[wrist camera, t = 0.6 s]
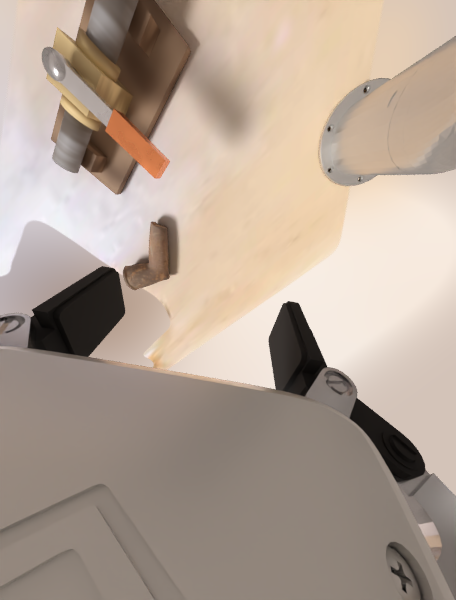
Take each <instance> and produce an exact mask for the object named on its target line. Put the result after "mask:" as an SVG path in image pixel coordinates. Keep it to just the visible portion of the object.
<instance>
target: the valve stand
mask: <svg viewBox="0 0 456 600" xmlns="http://www.w3.org/2000/svg"><path fill="white" fill-rule="evenodd" d="M53 49H55V50H56V51H58V52H59V53H61V54H62V55H64V56H65V57H66V58H67V59H68V60H69V62H70V64H71V65H72V68H73V69H74V70H75V71H76V72H77V73H78V74H79V75H80V76H81V77H82V78H83V79H84V80H85V81H86V82H87V83H88V84H89V85H90V86H91V87H92V88H93V89H94V90H95V91H96V92H97V93H98V94H99V95H100V96H101V97H102V98H103V99H104V100H105V101H106V102H107V103H108V104H109V105H110V106H111V107H112V108H113V109H116V110H118V111H120V112H122V113H123V114H124V115H125V116H126V117H127V118H128V119H129V120H130V121H131V122H132V123H133V124H134V125H135V126H136V127H137V128H138V129H139V130H140V131H141V132H142V133H143V134H144V135H145V136H146V137H147V138H148V137H149V135H150V133H151V131H152V129H153V127H154V125H155V123H156V121H157V119H158V117H159V115H160V113H161V111H162V109H163V107H164V105H165V103H166V101H167V99H168V97H169V95H170V93H171V91H172V89H173V87H174V85H175V83H176V81H177V79H178V77H179V75H180V73H181V71H182V69H183V67H184V65H185V63H186V61H187V59H188V57H189V55H190V53H191V50H190V48H189V46H188V44H187V43H186V42H185V40H184V39H183V38H182V36H181V35H180V34H179V32H178V31H177V30H176V28H175V27H174V26H173V25H172V23H171V22H170V21H169V19H168V18H167V17H166V15H165V14H164V13H163V11H162V10H161V9H160V7H159V6H158V5H157V3H156V2H155V1H154V0H86V3H85V7H84V11H83V15H82V19H81V23H80V27H79V30H78V34H77V38H76V42H75V41H74V40H73V39H72V38H70V37H69V36H68V35H66V34H65V33H64V32H63V31H61V30H60V29H59V28H58V27H57V31H56V35H55V40H54V45H53ZM46 79H47V80H48V81H49V82H50V83H52V84H53V85H54V86H55V87H56V88H57V89H58V90H59V91H60V92H61V93H62V97H61V101H60V106H59V110H58V113H57V117H56V121H55V125H54V129H53V133H52V137H51V140H52V141H53V142H55V143H56V146H55V149H54V153H53V157H52V159H53V160H54V162H55V163H56V164H58V165H59V166H60V167H62V168H64V169H65V170H67V171H70V172H73V173H78V171H79V168H80V165H82V166H83V167H84V168H85V169H86V170H88V171H89V172H90V173H91V174H92V175H94V176H95V177H96V178H97V179H98V180H99V181H101V182H102V183H103V184H104V185H105V186H106V187H108V188H109V189H110V190H111V191H112V192H114V193H115V194H121V192H122V190H123V188H124V186H125V184H126V182H127V180H128V178H129V175H130V173H131V171H132V169H133V167H134V165H135V163H136V160H135V159H134V158H133V157H132V156H131V155H130V154H129V153H128V152H127V151H126V150H125V149H124V148H123V147H121V146H120V145H119V144H118V143H117V142H116V141H115V140H114V139H113V138H112V137H111V136H110V135H109V134H108V133H107V132H106V131H105V130H106V126H105V125H104V124H103V123H102V122H101V121H100V120H99V119H98V118H97V117H96V116H95V115H94V114H93V113H92V112H91V111H90V110H89V109H87V108H86V107H85V106H84V105H83V104H82V103H81V102H80V101H79V100H78V99H77V98H76V97H75V96H74V95H73V94H72V93H71V92H70V91H69V90H68V89H67V88H66V87H65V86H64V85H63V84H62V83H60V82H58V81H56V80H54V79H53V78H51V77H50V75H49V74H48V73H47V78H46Z"/></svg>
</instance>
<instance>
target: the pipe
mask: <svg viewBox="0 0 456 600" xmlns="http://www.w3.org/2000/svg"><path fill="white" fill-rule="evenodd" d="M123 277H124V280H125V282H126V284H127V286H128V287H130V288H131V289H133V290H137V289H139V288H143V287H146V286H149V285H152V284H154V283H157V282H159V281H162V280H167V279H169V277H170V276H169V272H168V230H167V228H166V227H165V226H161V225H158V224H157V223H156V222H151V226H150V238H149V263H141V264H135V265H132V266H125V267H124V270H123Z"/></svg>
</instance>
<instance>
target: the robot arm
mask: <svg viewBox="0 0 456 600" xmlns="http://www.w3.org/2000/svg"><path fill="white" fill-rule="evenodd" d="M364 89H365V93H364V91H363V90H364ZM328 127H329V128H330V131H328V130H327V129H328ZM319 162H320V165H321V169H322V171H323V172H324V174H325V176H326V177H327V178H328V179H329V180H330V181H332V182H334V183H335V184H339V185H343V186H354V185H359V184H362V183H364V182H366V181H369V180H371V179H372V178H374V177H375V176H377V175H412V174H413V175H415V174H437V173H443V172H446V171H450V170H454V169H456V36H455V37H453V38H452V39H451V40H449V41H447V42H446V43H445V44H443V45H442V46H440V47H439V48H437V49H436V50H434V51H433V52H431V53H430V54H428V55H427V56H425V57H424V58H422V59H421V60H419V61H418V62H416V63H415V64H413V65H412V66H410V67H409V68H407V69H406V70H404V71H403V72H401V73H400V74H398V75H397V76H395V77H394V78H392V79H388V78H387V79H385V78H379V79H374V80H370V81H368V82H365V83H363V84H361V85H359V86H358V87H357V88H355V89H354V90H352V91H351V92H350V93H349V94H347V95H346V96H345V97H344V98H343V99H342V100H341V101H340V102H339V104H338V105H337V106H336V107H335V109H334V110H333V111H332V113H331V114H330V116H329V118H328V120H327V122H326V124H325V126H324V129H323V132H322V134H321V138H320V143H319ZM328 169H330V171H329V172H328ZM358 178H359V180H358ZM32 311H33V313H34V316H33V317H31V318H30V316H28V315H27V314H23V313H11V314H5V315H1V316H0V600H456V496H455V495H454V494H453V493H452V492H451V491H450V490H449V489H448V488H447V487H446V486H445V485H444V484H443V482H441V480H440V479H439V478H438V477H437V476H436V475H435V474H434V473H433V474H431V475H430V474H429V473H428V472H427V471H426V470H425V463H424V461H423V459H422V456H421V455H420V453H419V451H418V450H417V448H416V447H415V446H414V445H413V444H412V443H411V441H410V440H409V439H408V438H406V437H405V436H404V435H403V434H402V433H401V432H399V431H398V430H397V429H396V428H394V427H393V426H392V425H390V424H389V423H388V422H387V421H385V420H384V419H383V418H382V417H380V416H379V415H378V414H377V413H375V412H374V411H373V410H371V409H370V408H369V407H368V406H366V405H365V404H364V403H363V402H361V401H360V400H359V399H357V389H356V386H355V385H354V383H353V382H352V381H351V379H350V378H349V377H348V376H347V375H345V374H344V373H343V372H341V371H339V370H337V369H335V368H330V367H327V365H326V363H325V361H324V358H323V356H322V354H321V351H320V349H319V347H318V345H317V342H316V340H315V338H314V336H313V333H312V331H311V329H310V328H309V326H308V323H307V321H306V319H305V317H304V314H303V312H302V310H301V307H300V305H299V304H298V303H295V302H290V301H288V302H287V303H284V304H283V305H282V308H281V310H280V312H279V315H278V317H277V320H276V322H275V324H274V327H273V329H272V331H271V334H270V336H269V347H270V354H271V360H272V367H273V373H274V380H275V386H276V390H275V389H270V388H265V387H260V386H255V385H249V384H244V383H238V382H232V381H226V380H220V379H215V378H209V377H204V376H198V375H192V374H186V373H180V372H174V371H168V370H163V369H157V368H151V367H145V366H139V365H133V364H127V363H121V362H115V361H109V360H103V359H97V358H91V357H88V356H89V355H90V354H91V353H92V352H93V351H94V350H95V348H96V347H97V346H98V345H99V344H100V343H101V341H102V340H103V339H104V338H105V337H106V336H107V334H108V333H109V332H110V331H111V330H112V329H113V328H114V326H115V325H116V324H117V323H118V322H119V321H120V319H121V318H122V317H123V316H124V314H125V307H124V301H123V295H122V289H121V285H120V278H119V273H118V272H116V270H115V269H114V268H109V267H103V266H102V267H100V268H98V269H96V270H95V271H93V272H92V273H90V274H89V275H87V276H85V277H84V278H82V279H81V280H79V281H77V282H76V283H74V284H72V285H71V286H70V287H68V288H66V289H64V290H63V291H61V292H60V293H58V294H56V295H55V296H53V297H52V298H50V299H48V300H47V301H45V302H44V303H42V304H40V305H39V306H37V307H36V308H34V309H33V310H32Z"/></svg>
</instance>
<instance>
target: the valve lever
mask: <svg viewBox="0 0 456 600" xmlns="http://www.w3.org/2000/svg"><path fill="white" fill-rule="evenodd" d="M42 62H43V65H44V67H45V70H46V71H47V73H48V74H49V75H50V77H51V78H53V79H54V80H56V81H58V82H60V83H62V84H63V85H64V86H65V87H66V88H67V89H68V90H69V91H70V92H71V93H72V94H73V95H74V96H75V97H76V98H77V99H78V100H79V101H80V102H81V103H82V104H83V105H84V106H85V107H86V108H87V109H89V110H90V111H91V112H92V113H93V114H94V115H95V116H96V117H97V118H98V119H99V120H100V121H101V122H102V123H103V124H104V125H105V126H106V130H105V131H106V132H107V133H108V134H109V135H110V136H111V137H112V138H113V139H114V140H115V141H116V142H117V143H118V144H119V145H120V146H121V147H123V148H124V149H125V150H126V151H127V152H128V153H129V154H130V155H131V156H132V157H133V158H134V159H135V160H136V161H137V162H138V163H139V164H140V165H141V166H142V167H144V168H145V169H146V170H147V171H148V172H149V173H150V174H151V175H152V176H153V177H154V178H161V176H162V174H163V173H164V171H165V169H166V167H167V166H168V164H169V162H170V161H169V160H168V159H167V158H166V157H165V156H164V155H163V154H162V153H161V152H160V151H159V150H158V149H157V148H156V147H155V146H154V145H153V144H152V143H151V142H150V141H149V139H148V138H147V137H146V136H145V135H144V134H143V133H142V132H141V131H140V130H139V129H138V128H137V127H136V126H135V125H134V124H133V123H132V122H131V121H130V120H129V119H128V118H127V117H126V116H125V115H124V114H123V113H122V112H120V111H118V110H116V109H113V108H112V107H111V106H110V105H109V104H108V103H107V102H106V101H105V100H104V99H103V98H102V97H101V96H100V95H99V94H98V93H97V92H96V91H95V90H94V89H93V88H92V87H91V86H90V85H89V84H88V83H87V82H86V81H85V80H84V79H83V78H82V77H81V76H80V75H79V74H78V73H77V72H76V71H75V70H74V69H73V68H72V65H71V64H70V62H69V60H68V59H67V58H66V57H65V56H64V55H62V54H61V53H59V52H58V51H56V50H55V49H53V48H51V47H46V48H44V50H43V51H42Z"/></svg>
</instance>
